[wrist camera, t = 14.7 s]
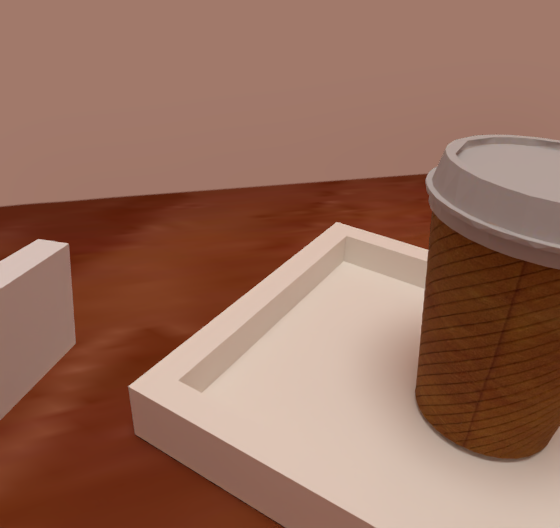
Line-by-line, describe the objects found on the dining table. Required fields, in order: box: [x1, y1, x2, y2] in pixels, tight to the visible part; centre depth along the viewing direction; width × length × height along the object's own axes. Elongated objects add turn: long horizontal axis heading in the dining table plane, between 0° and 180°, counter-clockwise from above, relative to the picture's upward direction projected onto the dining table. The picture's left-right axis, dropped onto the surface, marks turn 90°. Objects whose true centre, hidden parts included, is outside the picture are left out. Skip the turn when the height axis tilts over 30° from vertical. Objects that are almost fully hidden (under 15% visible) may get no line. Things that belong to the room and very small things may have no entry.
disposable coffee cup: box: [415, 135, 560, 459], centre depth 22 cm, size 10×10×12 cm
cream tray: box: [128, 222, 560, 528], centre depth 26 cm, size 20×20×3 cm
